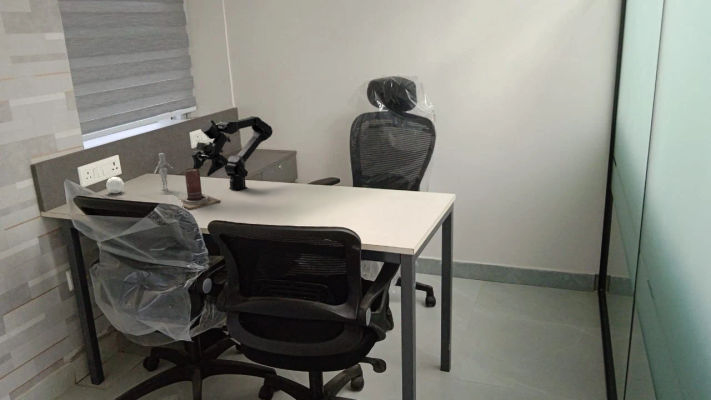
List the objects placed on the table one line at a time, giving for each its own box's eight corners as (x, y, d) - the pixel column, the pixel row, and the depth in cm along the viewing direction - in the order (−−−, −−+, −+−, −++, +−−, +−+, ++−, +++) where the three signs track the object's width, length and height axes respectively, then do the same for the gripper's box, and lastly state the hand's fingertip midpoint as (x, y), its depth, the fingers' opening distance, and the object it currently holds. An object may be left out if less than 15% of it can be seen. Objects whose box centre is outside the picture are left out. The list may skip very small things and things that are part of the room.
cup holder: (203, 195, 257) (202, 191, 256) (220, 202, 247) (220, 197, 246) (172, 202, 247) (172, 198, 247) (189, 209, 237) (188, 205, 236)
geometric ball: (119, 199, 265) (116, 188, 258) (103, 192, 265) (101, 182, 259) (128, 187, 269) (126, 177, 263) (113, 181, 270) (110, 171, 264)
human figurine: (172, 186, 273) (167, 150, 268) (177, 187, 272) (173, 150, 266) (153, 193, 263) (148, 155, 258) (159, 193, 261) (154, 156, 256)
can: (195, 203, 243) (191, 171, 239) (185, 201, 246) (181, 170, 242) (205, 199, 248) (202, 168, 244) (196, 197, 251) (192, 167, 247)
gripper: (191, 132, 251) (174, 162, 245) (220, 136, 241) (203, 167, 235) (206, 146, 259) (190, 175, 254) (235, 150, 249) (219, 180, 244)
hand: (200, 174), depth 246 cm, fingers open, 9 cm apart
